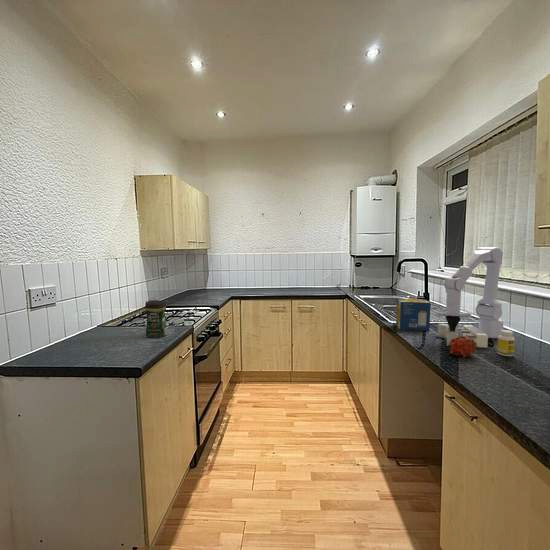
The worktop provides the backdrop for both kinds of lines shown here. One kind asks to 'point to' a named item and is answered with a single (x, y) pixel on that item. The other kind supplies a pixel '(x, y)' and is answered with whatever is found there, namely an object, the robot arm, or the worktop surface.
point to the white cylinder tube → (442, 330)
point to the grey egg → (451, 336)
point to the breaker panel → (474, 335)
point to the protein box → (413, 314)
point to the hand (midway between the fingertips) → (452, 331)
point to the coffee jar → (155, 319)
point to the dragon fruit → (462, 346)
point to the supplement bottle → (506, 343)
